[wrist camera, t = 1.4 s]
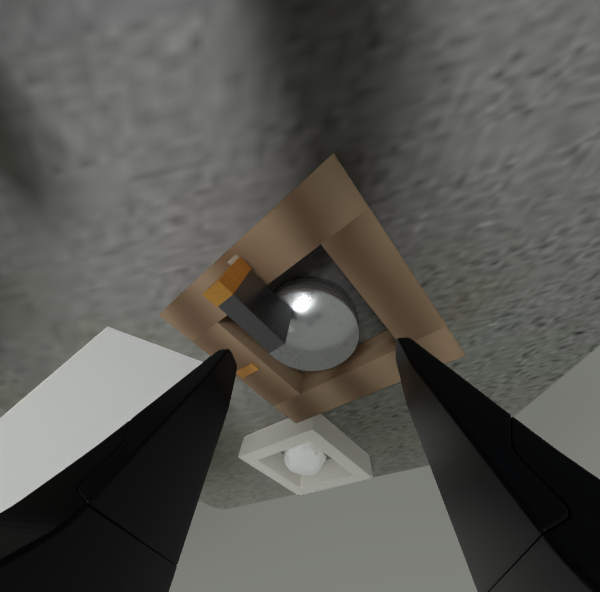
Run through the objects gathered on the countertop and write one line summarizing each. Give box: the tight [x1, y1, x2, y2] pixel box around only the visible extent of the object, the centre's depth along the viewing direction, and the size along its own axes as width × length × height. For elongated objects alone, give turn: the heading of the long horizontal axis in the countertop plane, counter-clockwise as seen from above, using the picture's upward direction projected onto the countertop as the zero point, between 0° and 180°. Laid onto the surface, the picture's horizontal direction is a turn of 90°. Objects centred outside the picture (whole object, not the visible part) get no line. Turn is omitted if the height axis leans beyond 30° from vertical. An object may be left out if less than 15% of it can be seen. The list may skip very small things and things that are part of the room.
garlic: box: [284, 442, 326, 475], centre depth 34 cm, size 8×7×4 cm
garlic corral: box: [238, 414, 373, 495], centre depth 35 cm, size 14×14×3 cm
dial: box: [203, 256, 359, 371], centre depth 19 cm, size 14×9×7 cm, turn 40°
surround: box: [159, 153, 466, 423], centre depth 22 cm, size 20×20×3 cm
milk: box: [0, 327, 203, 513], centre depth 20 cm, size 12×12×26 cm
